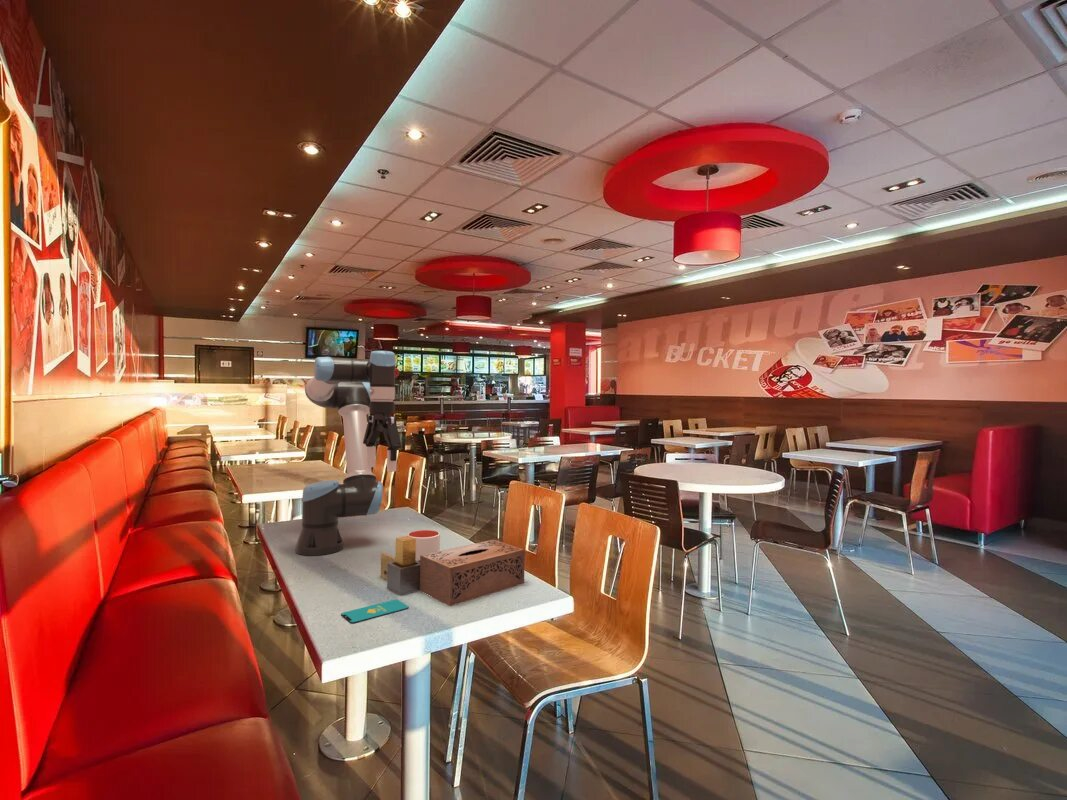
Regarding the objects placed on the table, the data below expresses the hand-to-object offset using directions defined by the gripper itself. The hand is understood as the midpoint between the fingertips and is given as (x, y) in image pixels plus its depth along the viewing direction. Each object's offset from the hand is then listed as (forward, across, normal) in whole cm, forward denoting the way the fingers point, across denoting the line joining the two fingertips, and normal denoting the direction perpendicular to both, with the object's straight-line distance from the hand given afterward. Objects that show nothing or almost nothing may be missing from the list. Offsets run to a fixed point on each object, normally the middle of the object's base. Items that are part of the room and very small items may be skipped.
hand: (381, 469), depth 164 cm
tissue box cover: (+31, +32, +12) cm, 46 cm away
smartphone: (+31, +30, -16) cm, 46 cm away
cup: (+31, +6, +12) cm, 34 cm away
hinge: (+31, +16, +2) cm, 35 cm away
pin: (+28, +21, -3) cm, 35 cm away
